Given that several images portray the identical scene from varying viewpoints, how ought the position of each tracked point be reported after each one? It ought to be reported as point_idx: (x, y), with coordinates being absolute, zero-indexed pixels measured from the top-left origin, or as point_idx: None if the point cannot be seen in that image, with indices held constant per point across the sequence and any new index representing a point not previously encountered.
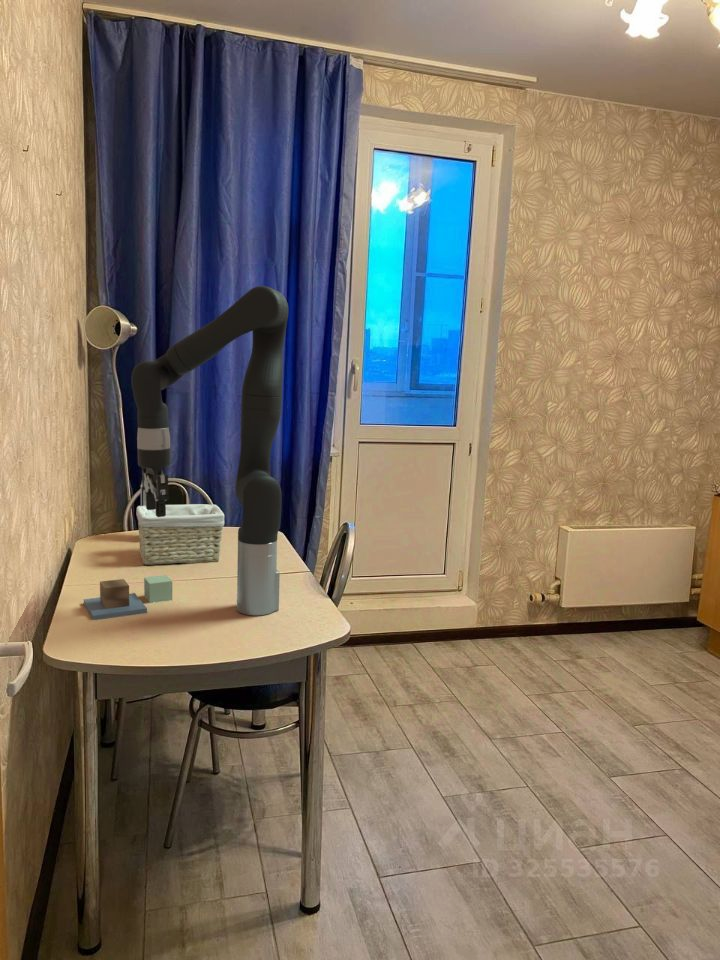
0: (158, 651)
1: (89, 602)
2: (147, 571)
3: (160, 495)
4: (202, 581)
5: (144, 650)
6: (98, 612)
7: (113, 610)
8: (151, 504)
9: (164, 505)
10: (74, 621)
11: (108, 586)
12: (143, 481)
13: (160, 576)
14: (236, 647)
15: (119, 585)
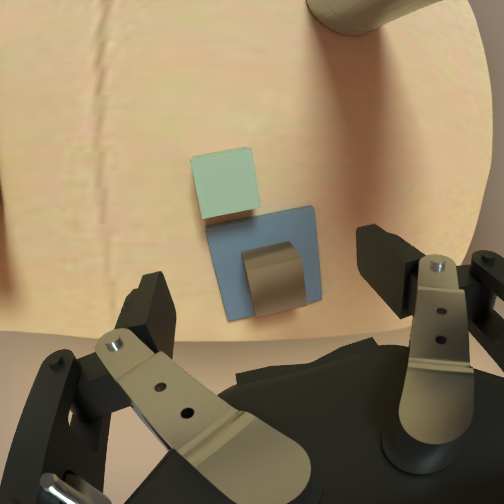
0: (457, 204)
1: (249, 310)
2: (32, 201)
3: (492, 312)
4: (118, 71)
5: (449, 221)
6: (309, 292)
7: (306, 269)
8: (164, 308)
9: (422, 254)
10: (315, 320)
11: (296, 299)
12: (101, 460)
13: (203, 177)
14: (472, 102)
15: (295, 278)
